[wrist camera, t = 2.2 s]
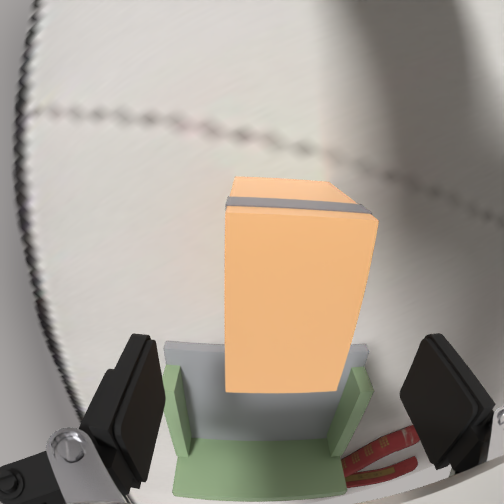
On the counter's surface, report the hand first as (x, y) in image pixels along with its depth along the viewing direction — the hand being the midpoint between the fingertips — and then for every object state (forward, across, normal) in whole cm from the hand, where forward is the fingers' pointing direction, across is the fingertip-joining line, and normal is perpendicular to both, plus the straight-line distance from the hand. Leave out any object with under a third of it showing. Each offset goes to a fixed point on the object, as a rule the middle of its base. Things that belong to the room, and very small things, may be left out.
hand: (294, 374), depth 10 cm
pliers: (+10, -11, +25) cm, 29 cm away
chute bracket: (+9, 0, +12) cm, 15 cm away
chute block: (+9, 0, -1) cm, 9 cm away
